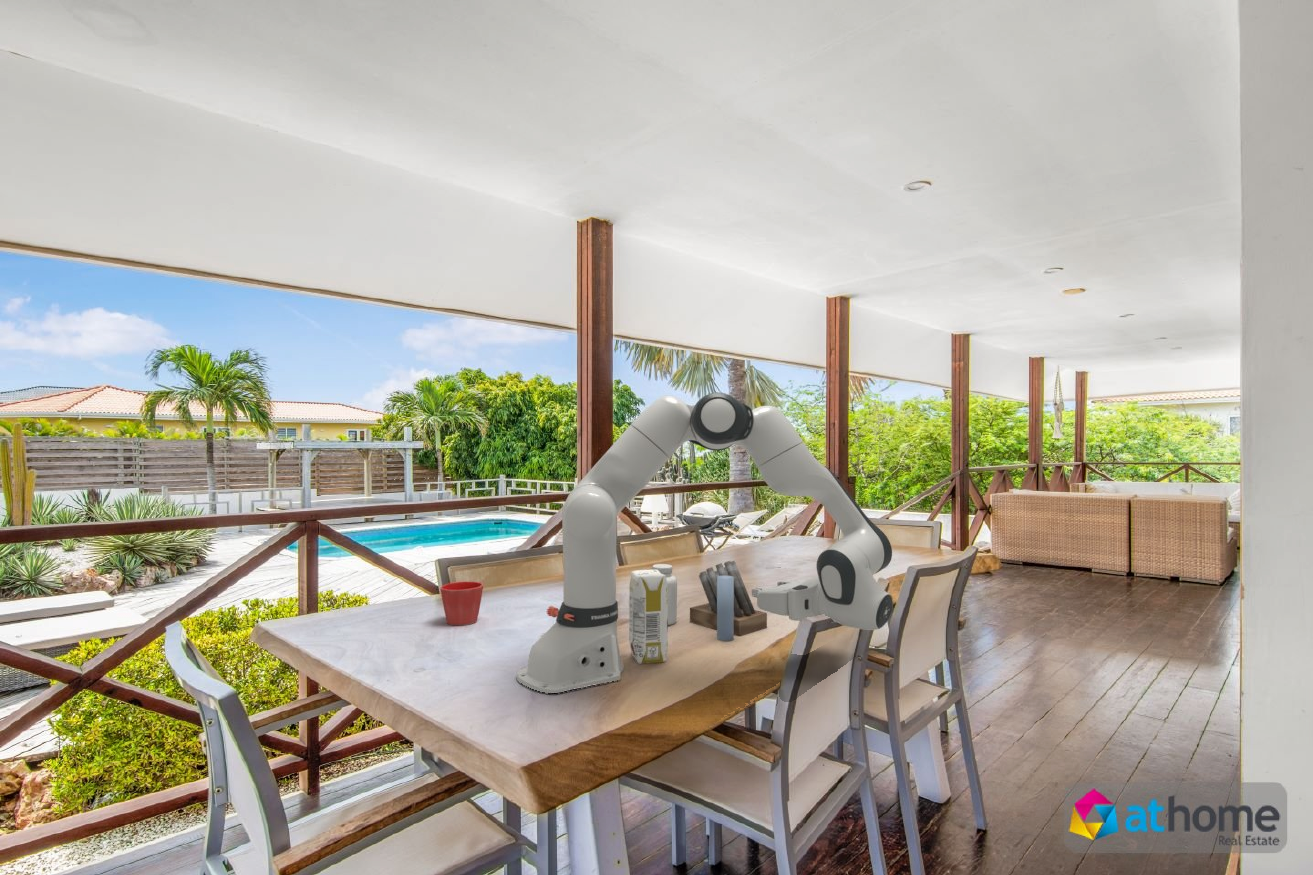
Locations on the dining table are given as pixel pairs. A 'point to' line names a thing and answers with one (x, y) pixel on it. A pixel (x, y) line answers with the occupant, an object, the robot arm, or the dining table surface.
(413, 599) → the dining table surface
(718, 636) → the peg
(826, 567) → the robot arm
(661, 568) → the pill bottle
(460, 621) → the flower pot
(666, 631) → the juice carton
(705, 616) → the slanted rod rack
